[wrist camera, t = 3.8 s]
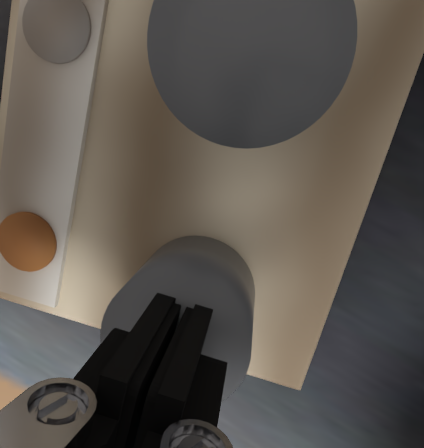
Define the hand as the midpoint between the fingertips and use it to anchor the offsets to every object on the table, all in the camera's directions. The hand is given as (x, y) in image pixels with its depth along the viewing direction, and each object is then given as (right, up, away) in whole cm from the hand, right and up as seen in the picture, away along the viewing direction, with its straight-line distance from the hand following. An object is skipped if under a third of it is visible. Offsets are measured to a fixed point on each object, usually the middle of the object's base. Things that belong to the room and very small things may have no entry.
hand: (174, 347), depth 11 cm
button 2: (+1, +1, +4) cm, 4 cm away
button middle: (+2, +8, +1) cm, 9 cm away
